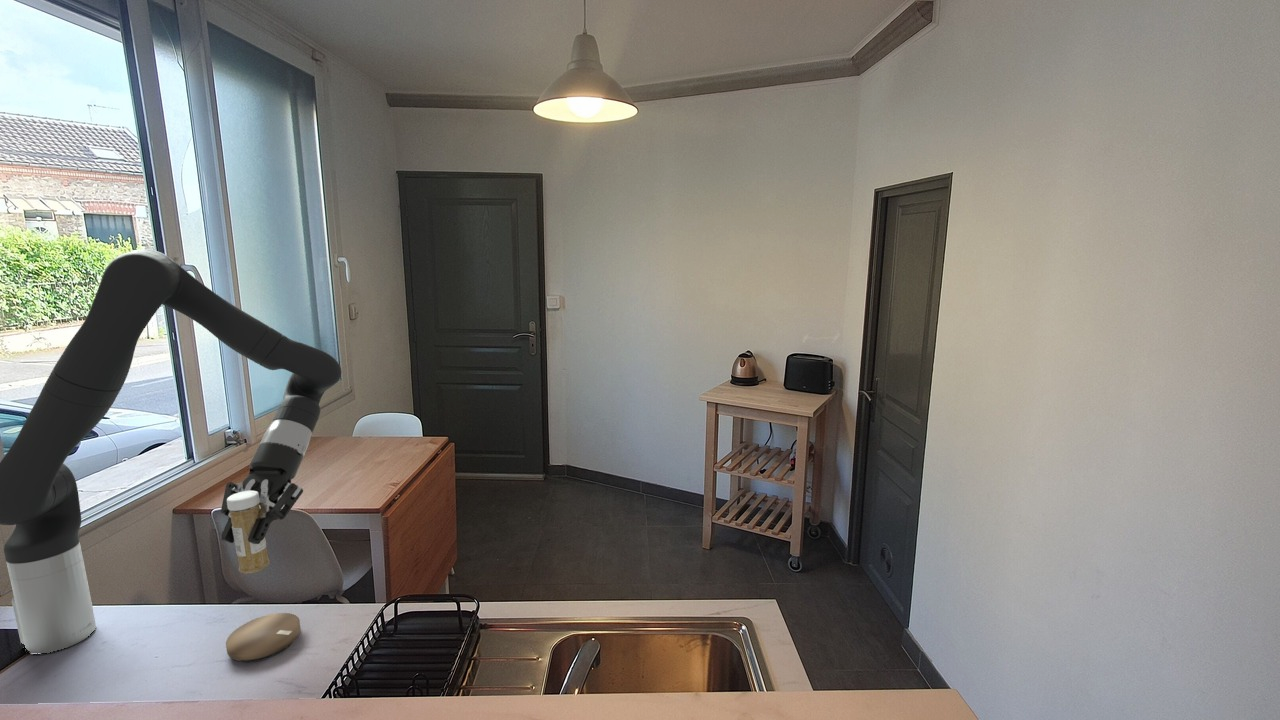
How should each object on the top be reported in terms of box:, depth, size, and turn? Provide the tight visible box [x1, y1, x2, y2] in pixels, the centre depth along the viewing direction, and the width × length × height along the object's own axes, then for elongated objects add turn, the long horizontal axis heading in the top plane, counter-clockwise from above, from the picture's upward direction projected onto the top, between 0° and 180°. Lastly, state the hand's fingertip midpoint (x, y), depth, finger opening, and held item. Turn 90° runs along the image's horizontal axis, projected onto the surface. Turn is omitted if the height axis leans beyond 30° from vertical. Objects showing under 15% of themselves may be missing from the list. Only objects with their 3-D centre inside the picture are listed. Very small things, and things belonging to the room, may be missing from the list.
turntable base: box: [238, 641, 294, 663], centre depth 103 cm, size 9×9×1 cm
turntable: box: [225, 612, 302, 661], centre depth 103 cm, size 11×11×2 cm
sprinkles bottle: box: [227, 490, 270, 574], centre depth 100 cm, size 5×5×14 cm
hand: (240, 541), depth 98 cm, fingers closed on sprinkles bottle, 4 cm apart
